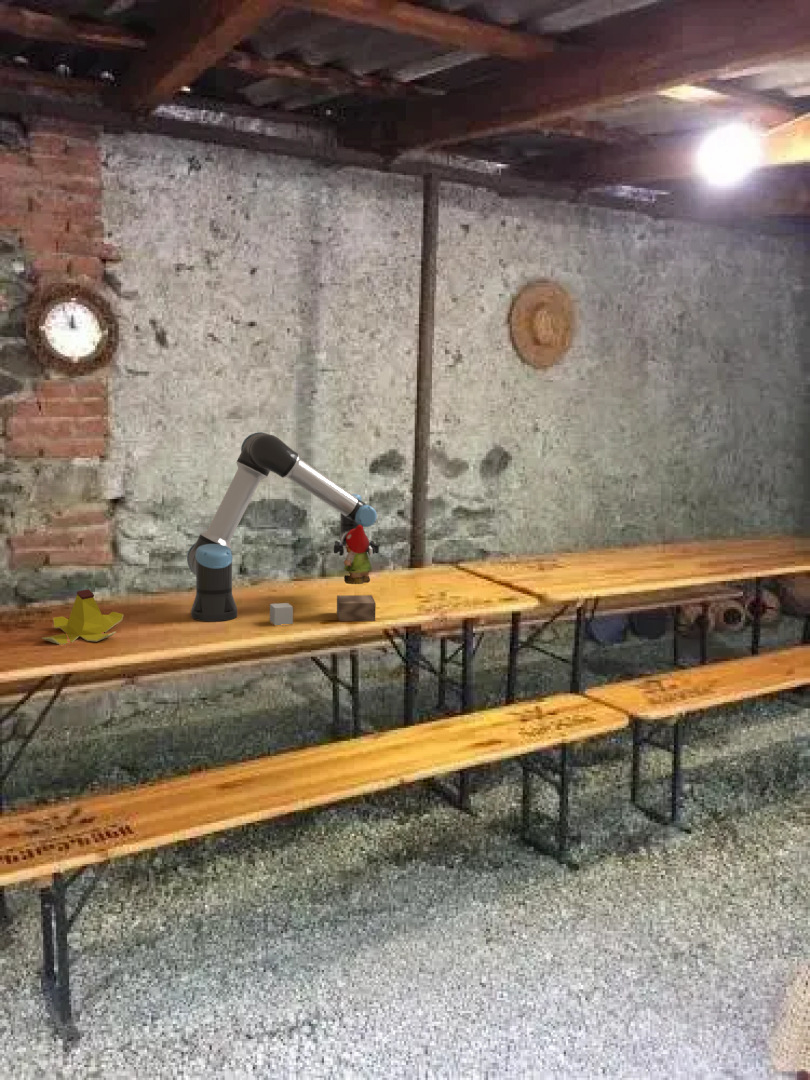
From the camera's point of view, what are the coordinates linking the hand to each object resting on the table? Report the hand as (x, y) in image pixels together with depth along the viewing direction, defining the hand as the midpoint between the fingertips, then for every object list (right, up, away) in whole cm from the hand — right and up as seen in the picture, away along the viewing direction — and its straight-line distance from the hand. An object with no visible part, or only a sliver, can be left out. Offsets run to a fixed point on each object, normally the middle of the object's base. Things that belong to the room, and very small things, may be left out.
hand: (358, 553), depth 322 cm
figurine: (-1, -10, +6) cm, 12 cm away
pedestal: (-1, -22, +8) cm, 23 cm away
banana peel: (-83, -25, -23) cm, 89 cm away
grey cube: (-25, -23, -3) cm, 34 cm away
